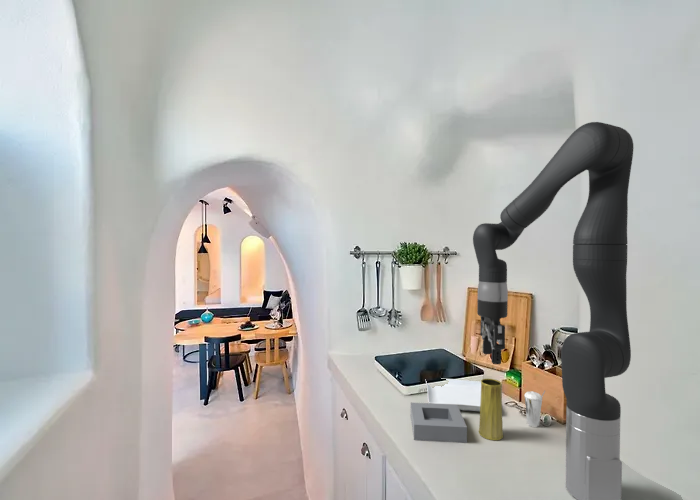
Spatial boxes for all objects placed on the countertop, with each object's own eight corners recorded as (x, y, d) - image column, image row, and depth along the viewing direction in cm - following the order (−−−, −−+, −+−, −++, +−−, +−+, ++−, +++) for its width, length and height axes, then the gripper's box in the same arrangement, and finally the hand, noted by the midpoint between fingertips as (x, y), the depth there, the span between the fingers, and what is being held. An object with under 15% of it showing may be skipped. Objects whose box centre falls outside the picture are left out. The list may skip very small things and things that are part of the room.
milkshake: (547, 429, 102) (547, 393, 101) (526, 427, 103) (527, 392, 102) (542, 421, 106) (542, 387, 106) (522, 419, 107) (522, 385, 107)
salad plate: (501, 418, 109) (501, 406, 109) (427, 412, 112) (428, 401, 112) (486, 390, 130) (486, 380, 130) (424, 386, 133) (425, 377, 133)
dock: (466, 442, 95) (467, 427, 95) (414, 439, 96) (414, 424, 96) (456, 418, 108) (457, 404, 108) (410, 415, 109) (410, 402, 109)
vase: (488, 442, 95) (488, 387, 95) (474, 430, 101) (474, 379, 101) (508, 439, 97) (508, 385, 96) (493, 427, 102) (493, 376, 102)
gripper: (516, 303, 91) (515, 368, 91) (498, 294, 105) (497, 351, 105) (485, 302, 91) (484, 367, 92) (471, 294, 105) (471, 350, 106)
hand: (491, 358), depth 98 cm, fingers open, 8 cm apart
